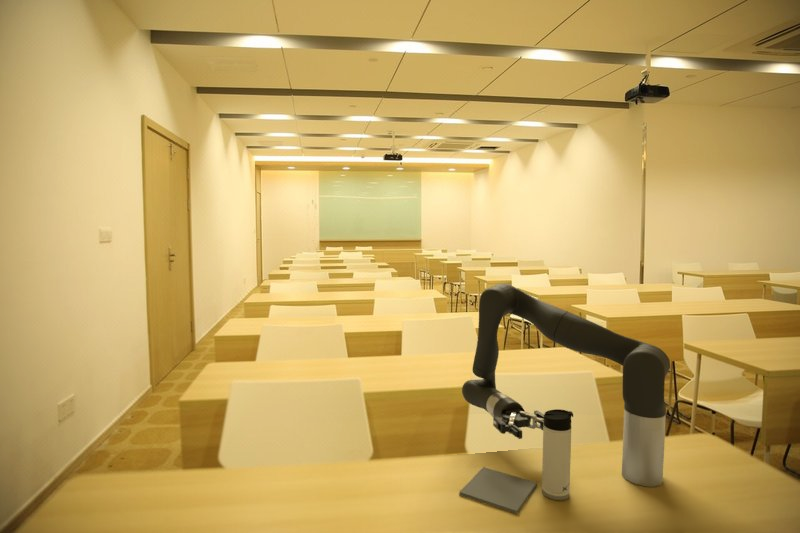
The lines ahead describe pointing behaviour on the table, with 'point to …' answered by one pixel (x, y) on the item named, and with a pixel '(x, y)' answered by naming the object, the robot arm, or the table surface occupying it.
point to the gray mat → (499, 489)
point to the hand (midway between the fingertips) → (536, 433)
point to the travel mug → (556, 454)
